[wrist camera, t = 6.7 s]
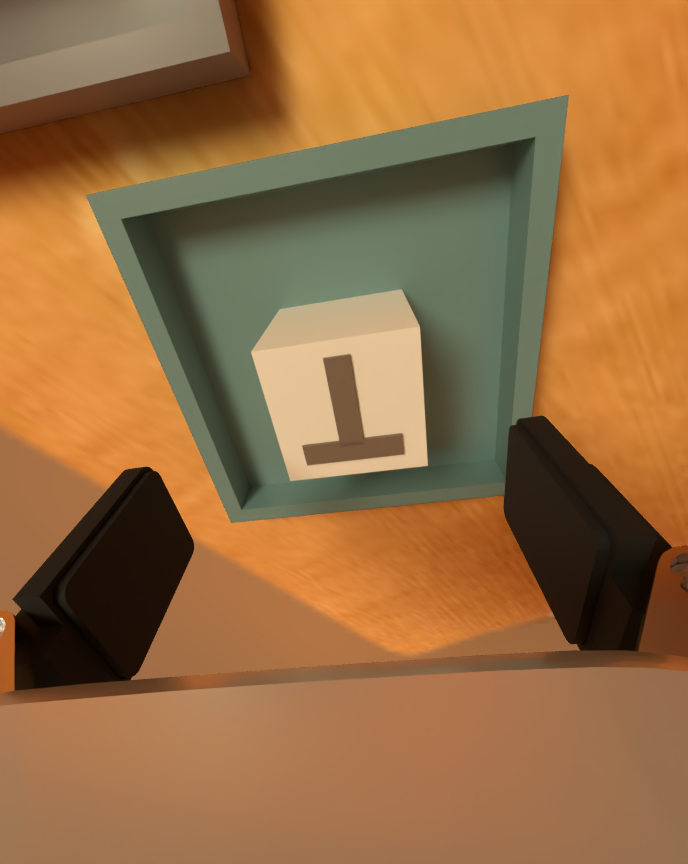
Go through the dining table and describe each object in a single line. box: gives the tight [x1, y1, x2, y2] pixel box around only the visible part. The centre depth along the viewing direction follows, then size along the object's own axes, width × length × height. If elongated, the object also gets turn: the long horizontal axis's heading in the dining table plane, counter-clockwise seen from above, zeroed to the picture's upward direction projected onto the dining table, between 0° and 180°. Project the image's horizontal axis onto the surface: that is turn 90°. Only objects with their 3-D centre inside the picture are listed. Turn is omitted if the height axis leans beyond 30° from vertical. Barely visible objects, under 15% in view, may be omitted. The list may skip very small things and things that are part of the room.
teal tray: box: [86, 95, 569, 523], centre depth 16 cm, size 15×15×2 cm
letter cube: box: [251, 289, 428, 481], centre depth 14 cm, size 5×5×5 cm
